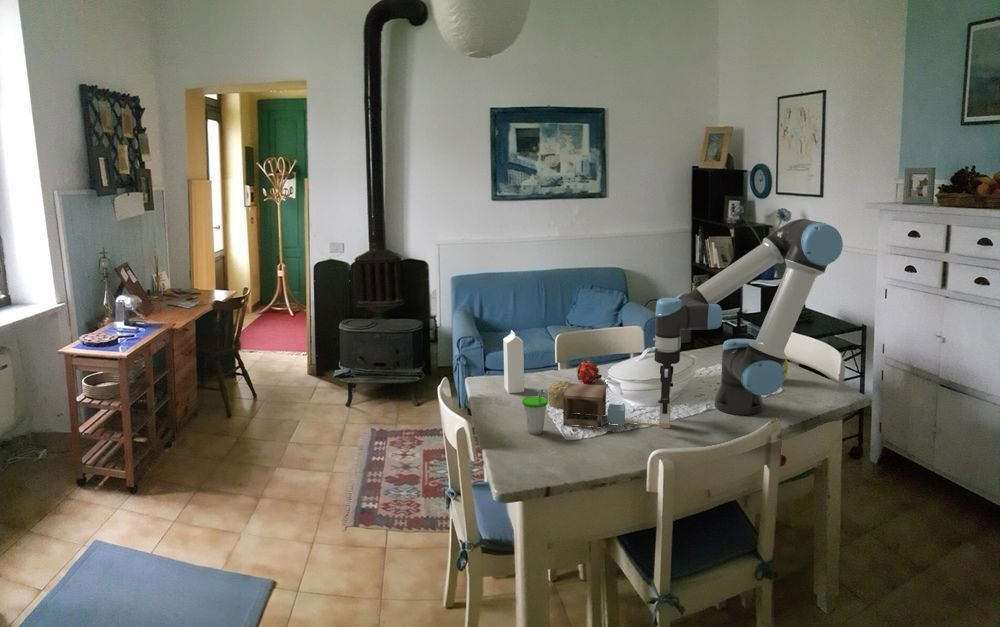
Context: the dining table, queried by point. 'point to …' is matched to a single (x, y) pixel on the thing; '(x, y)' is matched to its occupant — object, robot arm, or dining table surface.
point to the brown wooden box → (584, 404)
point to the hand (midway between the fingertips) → (665, 414)
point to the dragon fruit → (588, 372)
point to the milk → (513, 364)
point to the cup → (535, 413)
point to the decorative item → (557, 393)
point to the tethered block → (618, 416)
